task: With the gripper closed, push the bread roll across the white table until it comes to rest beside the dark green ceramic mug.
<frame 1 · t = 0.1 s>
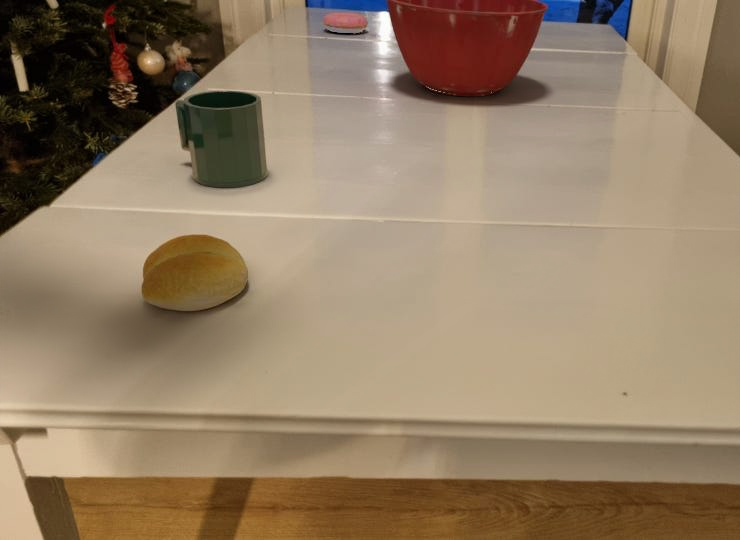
mug: (231, 175, 84), on the table
bread roll: (195, 289, 60), on the table
doughnut: (345, 32, 176), on the table
mixing bowl: (462, 89, 130), on the table
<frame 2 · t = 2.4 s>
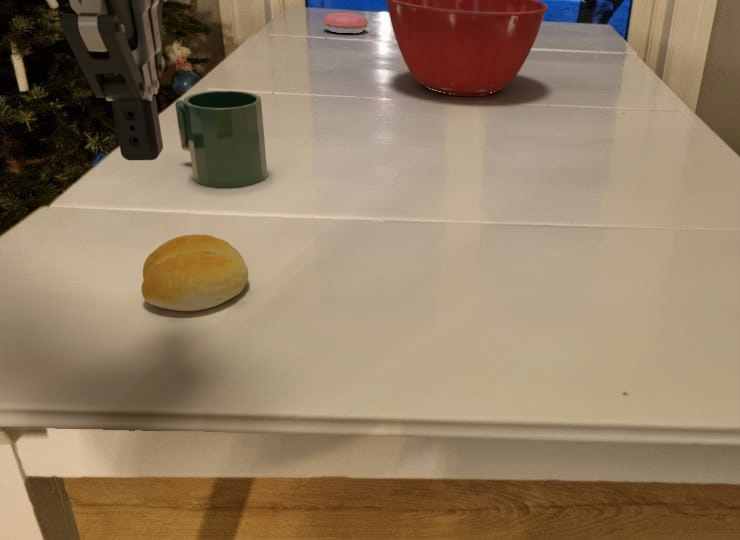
hand: (143, 156, 45), 15 cm above the table, tool pointing down, fingers closed
nothing on the table moved.
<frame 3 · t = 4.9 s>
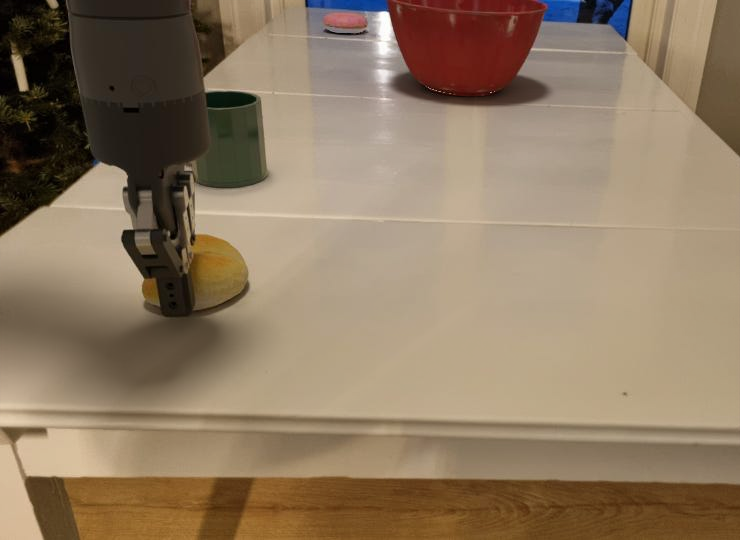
hand: (179, 312, 54), 1 cm above the table, tool pointing down, fingers closed
bread roll: (196, 289, 60), on the table, touching gripper
everything else where it was.
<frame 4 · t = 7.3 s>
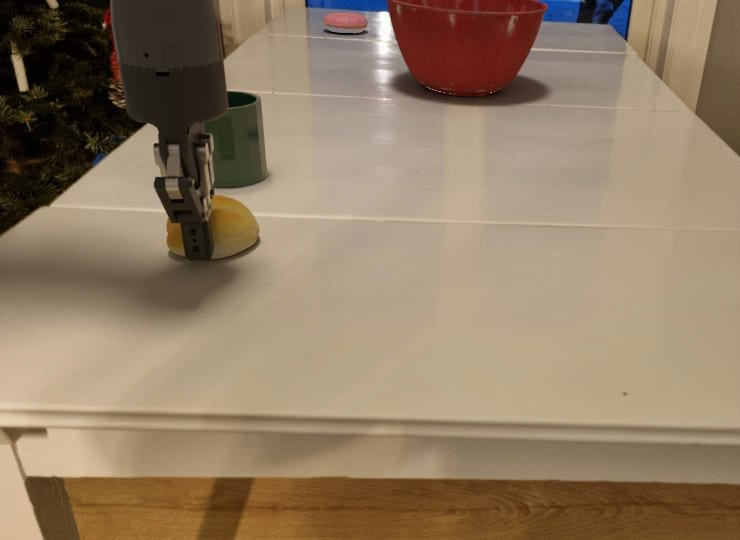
hand: (200, 256, 62), 1 cm above the table, tool pointing down, fingers closed
bread roll: (213, 243, 68), on the table, touching gripper
everything else where it was.
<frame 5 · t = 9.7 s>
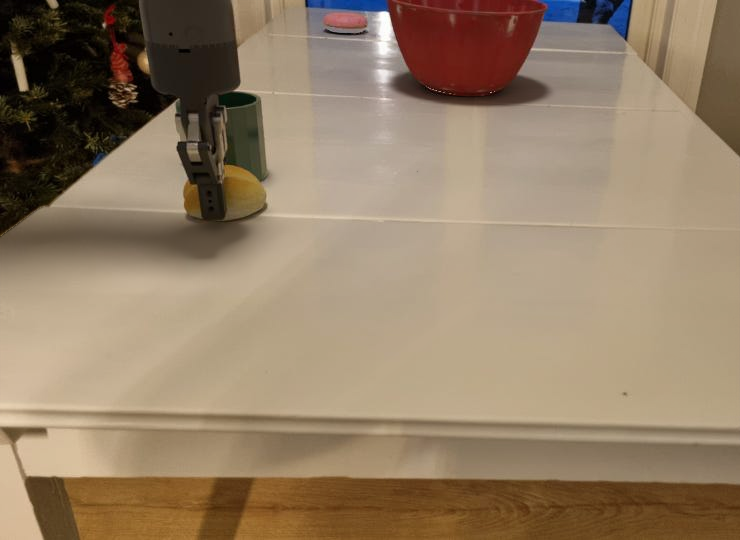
hand: (214, 217, 70), 1 cm above the table, tool pointing down, fingers closed
bread roll: (225, 207, 76), on the table, touching gripper
everything else where it was.
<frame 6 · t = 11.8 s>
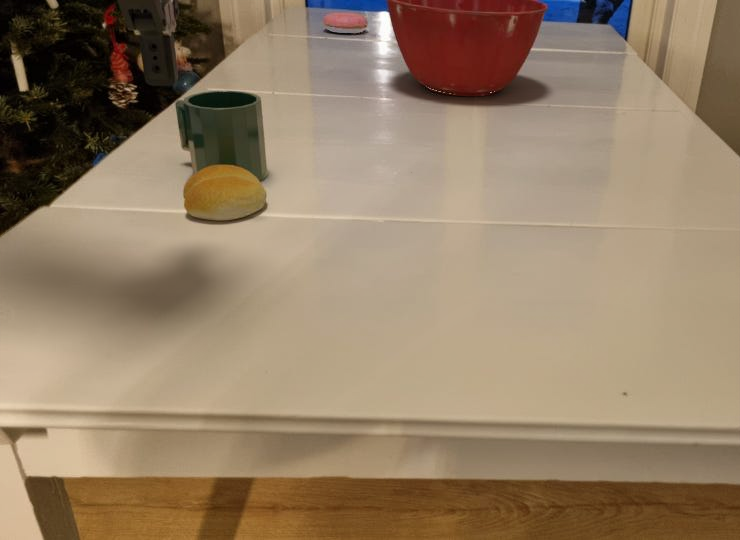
hand: (162, 83, 56), 16 cm above the table, tool pointing down, fingers closed
bread roll: (225, 207, 76), on the table
everything else where it was.
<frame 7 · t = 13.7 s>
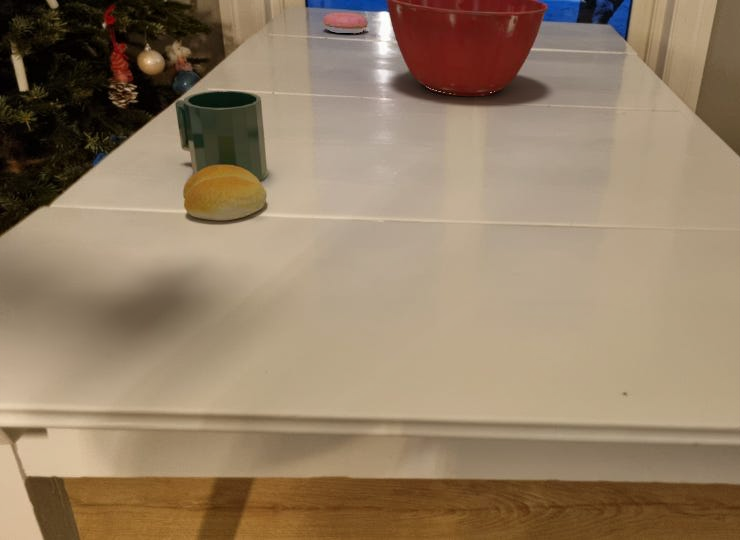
nothing on the table moved.
at the end: bread roll 9.5 cm from the mug (horizontally); bread roll moved 18.0 cm from its start; the gripper is holding nothing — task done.
